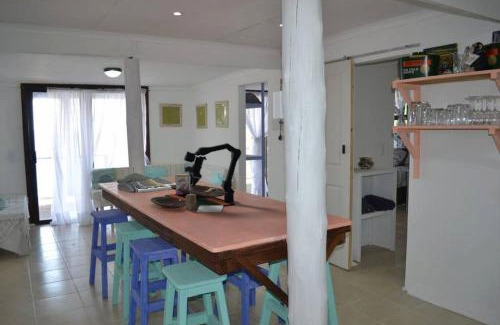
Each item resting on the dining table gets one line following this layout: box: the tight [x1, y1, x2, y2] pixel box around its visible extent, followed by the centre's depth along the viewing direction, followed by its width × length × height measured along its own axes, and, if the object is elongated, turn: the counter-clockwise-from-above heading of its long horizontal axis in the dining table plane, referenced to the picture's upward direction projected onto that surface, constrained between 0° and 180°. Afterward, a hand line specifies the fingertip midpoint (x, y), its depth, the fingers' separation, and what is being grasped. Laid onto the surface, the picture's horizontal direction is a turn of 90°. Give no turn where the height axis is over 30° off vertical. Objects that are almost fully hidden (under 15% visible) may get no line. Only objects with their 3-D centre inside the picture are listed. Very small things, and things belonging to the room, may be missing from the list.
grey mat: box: [196, 205, 224, 213], centre depth 260 cm, size 16×16×1 cm
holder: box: [137, 182, 176, 194], centre depth 347 cm, size 45×18×3 cm, turn 122°
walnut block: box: [185, 193, 197, 211], centre depth 261 cm, size 5×5×10 cm
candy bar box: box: [174, 173, 191, 196], centre depth 316 cm, size 11×5×16 cm, turn 84°
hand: (191, 185), depth 275 cm, fingers open, 9 cm apart
